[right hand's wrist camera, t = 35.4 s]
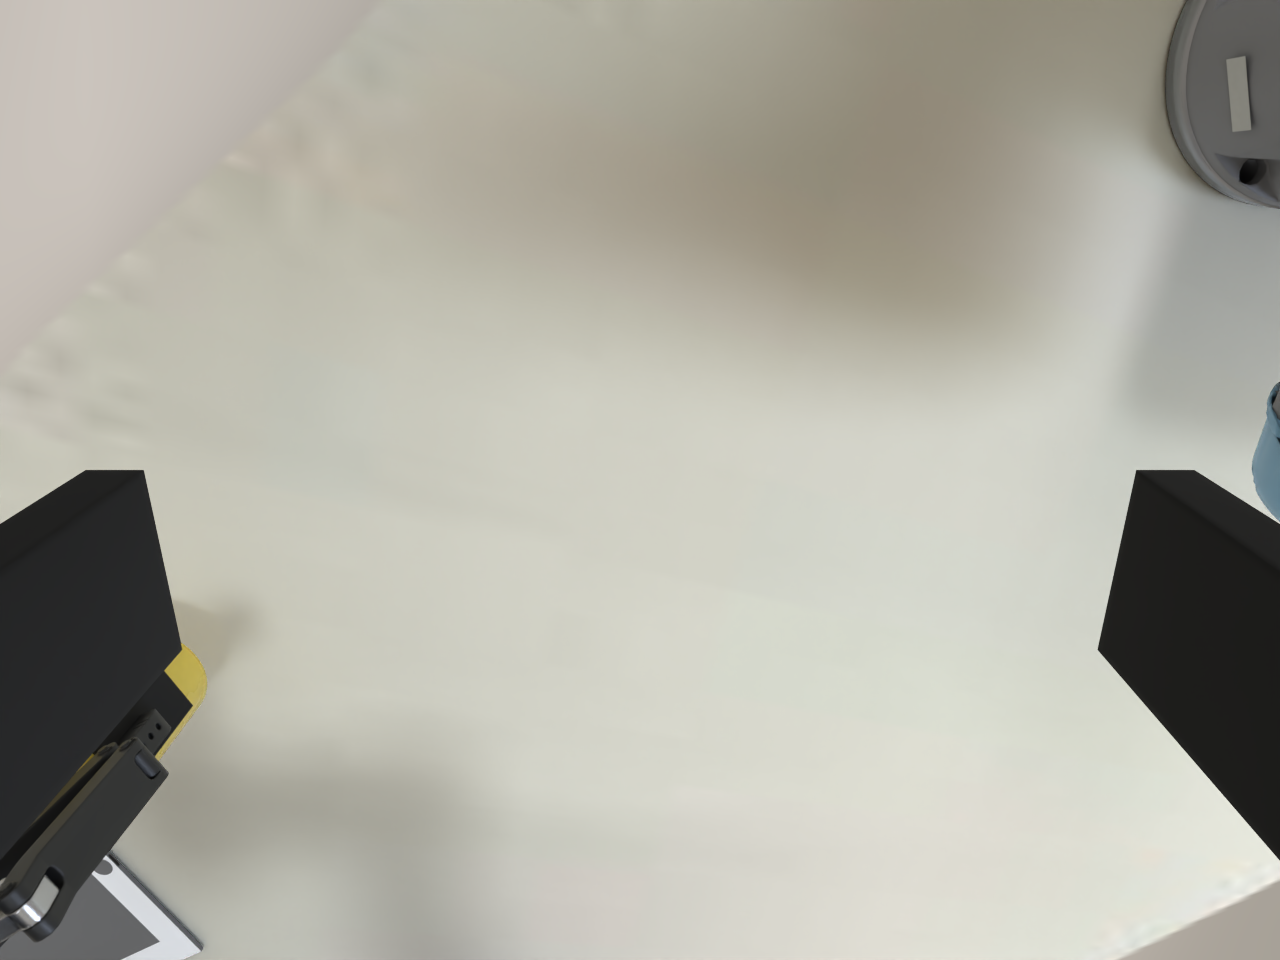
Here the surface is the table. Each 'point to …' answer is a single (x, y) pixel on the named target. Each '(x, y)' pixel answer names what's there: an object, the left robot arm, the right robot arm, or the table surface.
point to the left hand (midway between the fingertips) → (122, 714)
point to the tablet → (109, 924)
